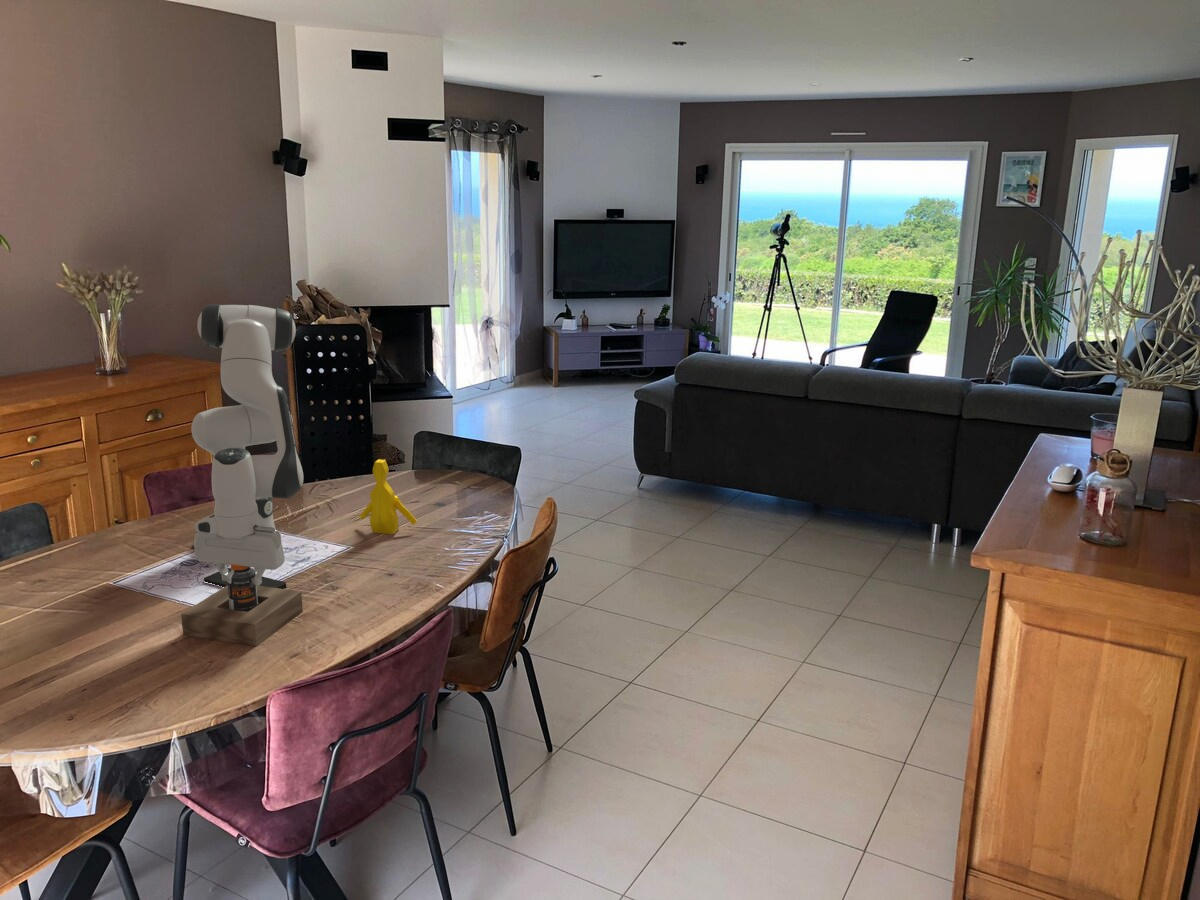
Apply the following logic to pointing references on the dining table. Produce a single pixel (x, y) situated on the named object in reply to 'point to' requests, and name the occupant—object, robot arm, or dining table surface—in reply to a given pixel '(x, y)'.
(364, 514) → the figure statuette
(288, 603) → the walnut holder
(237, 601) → the pill bottle
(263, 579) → the smart home device
